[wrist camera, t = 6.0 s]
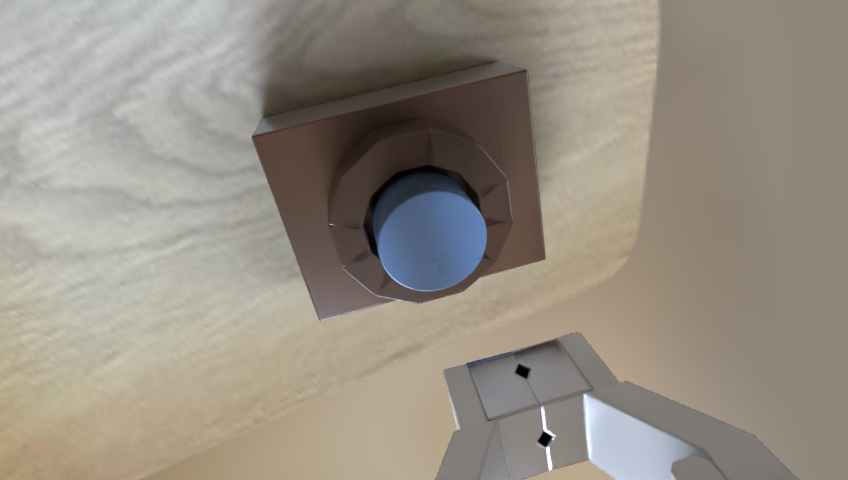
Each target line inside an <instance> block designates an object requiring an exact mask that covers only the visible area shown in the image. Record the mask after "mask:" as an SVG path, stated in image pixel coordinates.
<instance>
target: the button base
mask: <svg viewBox="0 0 848 480" xmlns="http://www.w3.org/2000/svg"><path fill="white" fill-rule="evenodd" d="M252 140H253V143H254V146H255V148H256V151H257V154H258V156H259V159H260V162H261V165H262V167H263V170H264V173H265V175H266V178H267V181H268V183H269V186H270V189H271V192H272V194H273V197H274V200H275V202H276V205H277V208H278V210H279V213H280V216H281V218H282V221H283V224H284V227H285V229H286V232H287V235H288V237H289V240H290V243H291V245H292V248H293V251H294V254H295V256H296V259H297V262H298V264H299V267H300V270H301V272H302V275H303V278H304V281H305V283H306V286H307V289H308V291H309V294H310V297H311V299H312V302H313V305H314V308H315V310H316V313H317V316H318V318H319V320H320V321H323V320H326V319H330V318H334V317H337V316H341V315H345V314H348V313H352V312H355V311H359V310H363V309H366V308H370V307H374V306H377V305H381V304H385V303H388V302H392V301H396V300H400V301H405V302H411V303H416V304H419V303H424V302H428V301H431V300H435V299H439V298H442V297H446V296H449V295H453V294H457V293H460V292H463V291H465V290H466V289H467V288H468V287H469V286H470V285H472V284H473V283H474V282H475V281H476V280H477V279H479V278H480V277H483V276H487V275H491V274H494V273H498V272H502V271H505V270H509V269H513V268H516V267H520V266H523V265H527V264H531V263H534V262H538V261H542V260H545V259H546V256H545V245H544V235H543V224H542V214H541V203H540V193H539V182H538V172H537V161H536V151H535V140H534V130H533V119H532V109H531V98H530V88H529V77H528V71H527V69H523V68H520V67H516V66H513V65H510V64H506V63H503V62H499V61H498V62H494V63H489V64H485V65H481V66H477V67H473V68H469V69H464V70H460V71H456V72H452V73H448V74H444V75H439V76H435V77H431V78H427V79H423V80H419V81H414V82H410V83H406V84H402V85H398V86H393V87H389V88H385V89H381V90H377V91H373V92H368V93H364V94H360V95H356V96H352V97H348V98H343V99H339V100H335V101H331V102H327V103H323V104H318V105H314V106H310V107H306V108H302V109H298V110H293V111H289V112H285V113H281V114H277V115H272V116H268V117H264V118H262V120H261V122H260V123H259V125H258V127H257V128H256V130H255V132H254V134H253V135H252ZM417 172H434V173H439V174H442V175H445V176H447V177H449V178H451V179H452V180H454V181H455V182H456V183H457V184H458V185H459V186H460V187H461V188H462V189H463V190H464V192H465V193H466V194H467V196H468V197H469V198H470V199H471V201H472V202H473V203H474V205H475V206H476V207H477V209H478V210H479V211H480V213H481V215H482V217H483V219H484V222H485V225H486V230H487V242H486V247H485V251H484V254H483V256H482V258H481V260H480V262H479V264H478V265H477V267H476V268H475V269H474V270H473V272H472V273H470V274H469V275H468V276H467V277H466V278H465V279H463V280H462V281H460V282H459V283H457V284H455V285H453V286H451V287H448V288H445V289H442V290H437V291H418V290H414V289H410V288H407V287H405V286H403V285H401V284H399V283H398V282H396V281H395V280H394V279H393V278H392V277H391V276H390V275H389V274H388V273H387V272H386V270H385V269H384V267H383V265H382V263H381V261H380V258H379V254H378V249H377V244H376V240H375V235H374V230H373V213H374V208H375V206H376V203H377V201H378V199H379V197H380V196H381V195H382V193H383V192H384V191H385V190H386V189H387V187H388V186H390V185H391V184H392V183H393V182H395V181H396V180H398V179H399V178H402V177H404V176H406V175H409V174H412V173H417Z"/></svg>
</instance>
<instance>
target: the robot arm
mask: <svg viewBox="0 0 848 480" xmlns="http://www.w3.org/2000/svg"><path fill="white" fill-rule="evenodd" d="M443 375H444V379H445V383H446V387H447V391H448V395H449V399H450V403H451V407H452V411H453V415H454V419H455V423H456V427H457V431H455V432H453V435H452V437H451V440H450V442H449V445H448V448H447V450H446V453H445V455H444V458H443V460H442V463H441V466H440V468H439V471H438V473H437V476H436V478H435V480H524V479H527V478H530V477H533V476H536V475H538V474H542V473H544V472H547V471H551V470H554V469H558V468H562V467H566V466H569V465H573V464H576V463H580V462H584V461H587V460H591V462H592V463H593V464H595V465H596V466H597V467H599V468H600V469H602V470H603V471H604V472H606V473H607V474H609V475H610V476H612V477H613V478H614V479H616V480H799V479H798V478H797V477H796V476H795V475H794V474H793V473H792V472H791V471H790V470H789V469H788V468H787V467H785V465H784V464H783V463H782V462H781V461H780V460H779V459H778V458H777V457H776V456H775V455H774V454H773V453H772V452H771V451H770V450H769V449H768V448H767V447H766V446H765V445H764V444H763V443H762V442H761V441H760V440H759V439H758V438H757V437H756V436H755V435H753V434H751V433H749V432H746V431H744V430H741V429H739V428H737V427H734V426H732V425H730V424H727V423H725V422H723V421H720V420H718V419H716V418H713V417H711V416H709V415H706V414H704V413H702V412H699V411H697V410H694V409H692V408H690V407H687V406H685V405H683V404H680V403H678V402H676V401H673V400H671V399H669V398H666V397H664V396H661V395H659V394H657V393H654V392H652V391H650V390H647V389H645V388H643V387H640V386H638V385H636V384H633V383H631V382H629V381H624V382H619V381H618V380H617V379H616V377H615V376H614V375H613V374H612V372H611V371H610V370H609V368H608V367H607V366H606V365H605V363H604V362H603V361H602V359H601V358H600V357H599V356H598V354H597V353H596V352H595V351H594V349H593V348H592V347H591V345H590V344H589V343H588V341H587V340H586V339H585V338H584V336H583V335H582V334H581V333H579V332H574V333H570V334H567V335H564V336H561V337H557V338H555V339H552V340H548V341H545V342H542V343H538V344H535V345H532V346H528V347H525V348H521V349H518V350H515V351H511V352H508V353H504V354H500V355H497V356H493V357H489V358H485V359H481V360H477V361H473V362H469V363H467V364H466V365H465V364H464V365H460V366H456V367H452V368H448V369H445V370H443Z"/></svg>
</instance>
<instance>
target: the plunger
mask: <svg viewBox="0 0 848 480" xmlns="http://www.w3.org/2000/svg"><path fill="white" fill-rule="evenodd" d="M373 230H374V235H375V240H376V244H377V249H378V254H379V258H380V261H381V263H382V265H383V267H384V269H385V270H386V272H387V273H388V274H389V275H390V276H391V277H392V278H393V279H394V280H395V281H396V282H398V283H399V284H401V285H403V286H405V287H407V288H410V289H414V290H418V291H437V290H442V289H445V288H448V287H451V286H453V285H455V284H457V283H459V282H460V281H462V280H463V279H465V278H466V277H467V276H468V275H469V274H470V273H472V272H473V270H474V269H475V268H476V267H477V265H478V264H479V262H480V260H481V258H482V256H483V254H484V251H485V247H486V242H487V230H486V225H485V222H484V219H483V217H482V215H481V213H480V211H479V210H478V209H477V207H476V206H475V205H474V203H473V202H472V201H471V199H470V198H469V197H468V196H467V194H466V193H465V192H464V190H463V189H462V188H461V187H460V186H459V185H458V184H457V183H456V182H455V181H454V180H452V179H451V178H449V177H447V176H445V175H442V174H439V173H434V172H417V173H412V174H409V175H406V176H404V177H402V178H399V179H398V180H396V181H395V182H393V183H392V184H391V185H390V186H388V187H387V189H386V190H385V191H384V192H383V193H382V195H381V196H380V197H379V199H378V201H377V203H376V206H375V208H374V213H373Z"/></svg>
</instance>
